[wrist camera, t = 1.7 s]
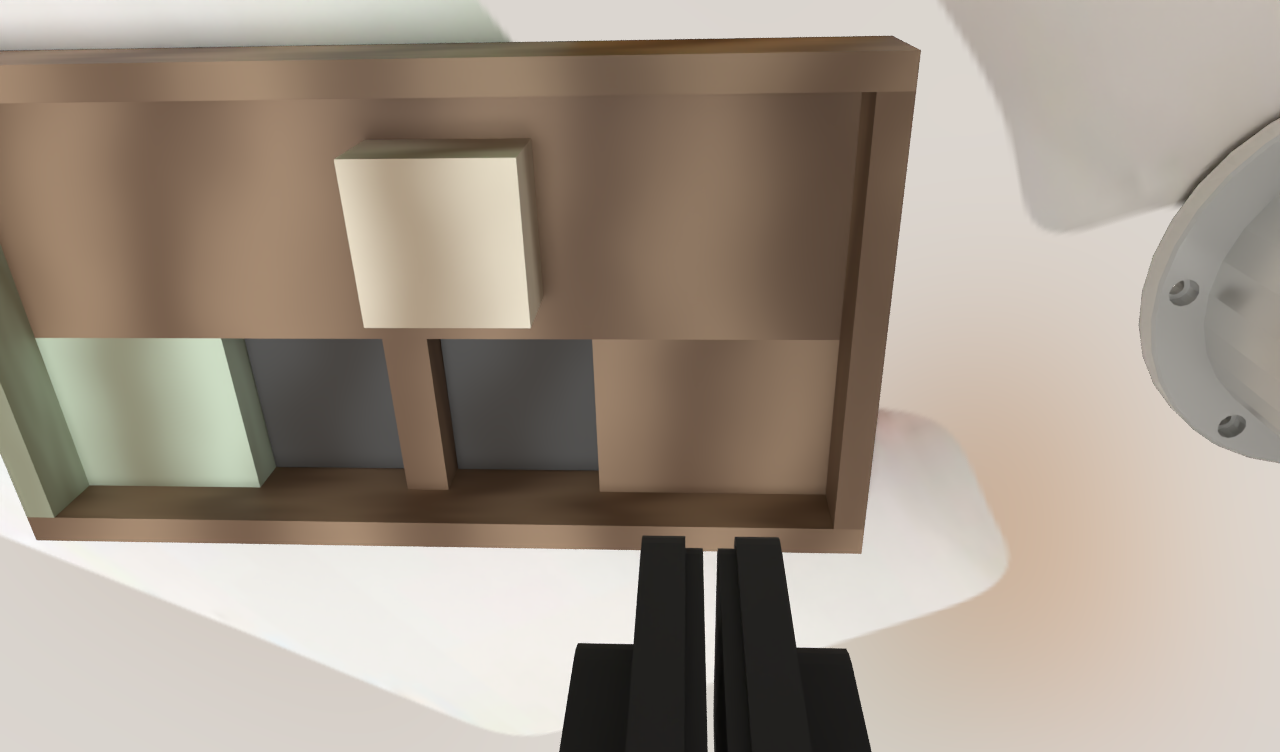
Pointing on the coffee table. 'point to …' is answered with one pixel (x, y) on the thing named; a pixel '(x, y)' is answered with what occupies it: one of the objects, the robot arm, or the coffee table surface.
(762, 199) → the box
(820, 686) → the robot arm
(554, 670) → the coffee table surface
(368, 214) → the block
